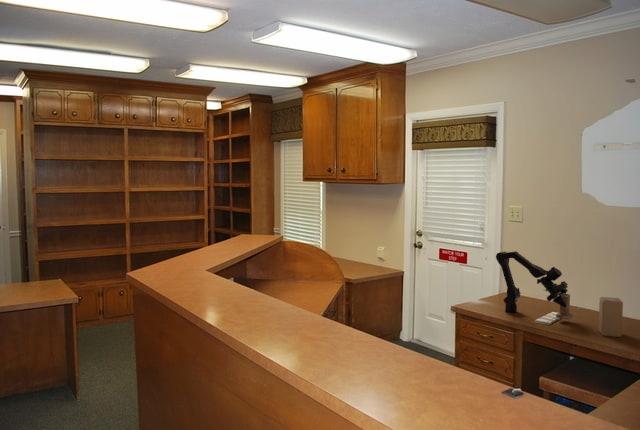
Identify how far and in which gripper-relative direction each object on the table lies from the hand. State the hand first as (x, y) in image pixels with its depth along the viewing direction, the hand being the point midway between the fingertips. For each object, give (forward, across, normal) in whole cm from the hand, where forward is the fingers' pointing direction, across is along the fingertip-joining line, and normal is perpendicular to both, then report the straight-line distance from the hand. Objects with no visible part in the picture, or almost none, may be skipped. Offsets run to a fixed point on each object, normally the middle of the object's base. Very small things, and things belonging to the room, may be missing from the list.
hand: (567, 306), depth 311 cm
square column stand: (+4, 0, +6) cm, 7 cm away
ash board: (0, 0, +14) cm, 14 cm away
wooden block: (+25, -6, -11) cm, 28 cm away
